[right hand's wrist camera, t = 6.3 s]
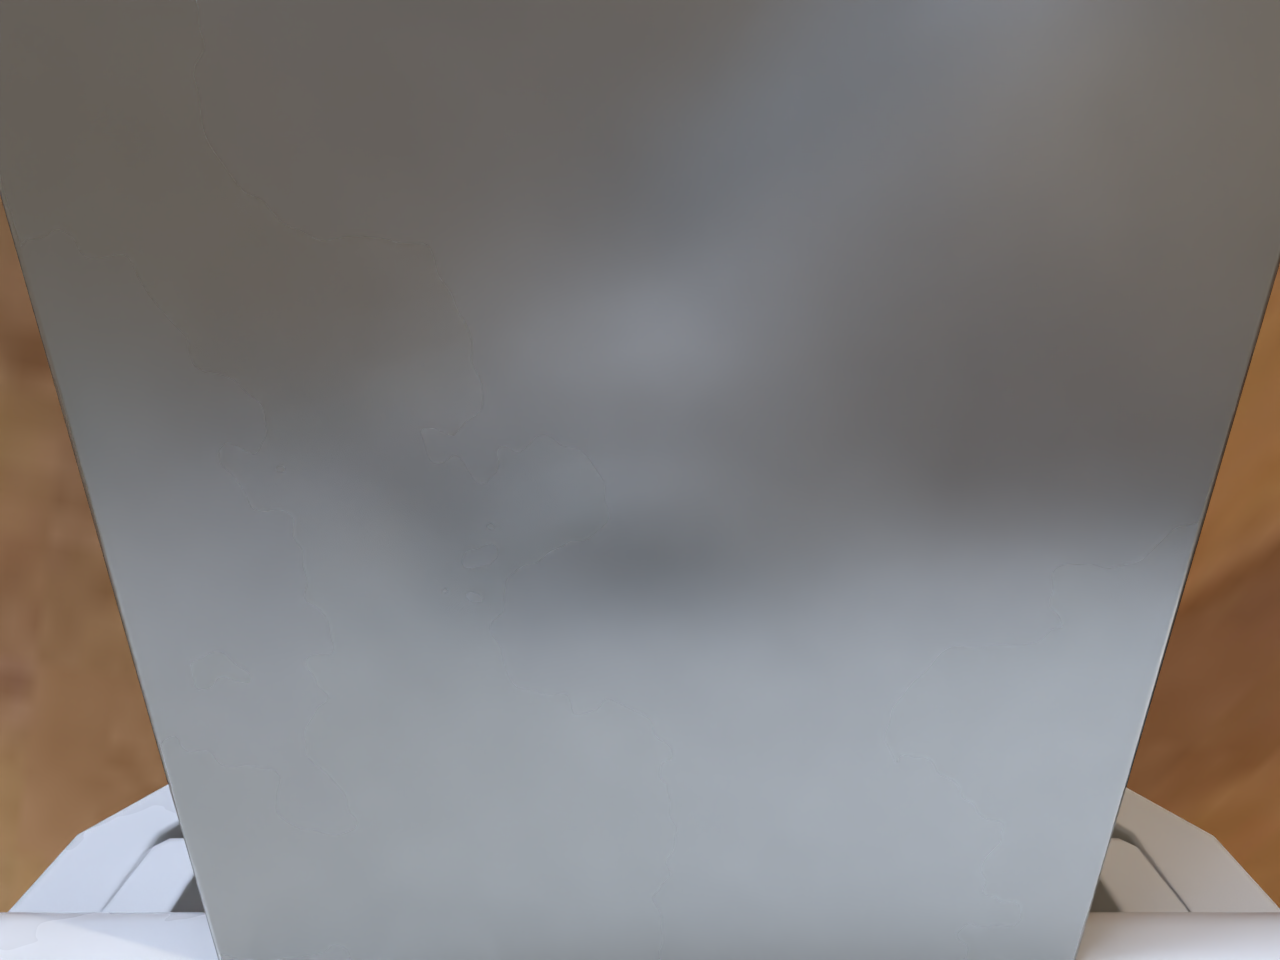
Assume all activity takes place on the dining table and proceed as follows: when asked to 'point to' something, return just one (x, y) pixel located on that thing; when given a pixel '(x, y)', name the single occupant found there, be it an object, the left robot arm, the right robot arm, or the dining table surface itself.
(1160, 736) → the dining table surface
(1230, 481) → the dining table surface
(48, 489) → the dining table surface
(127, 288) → the box
